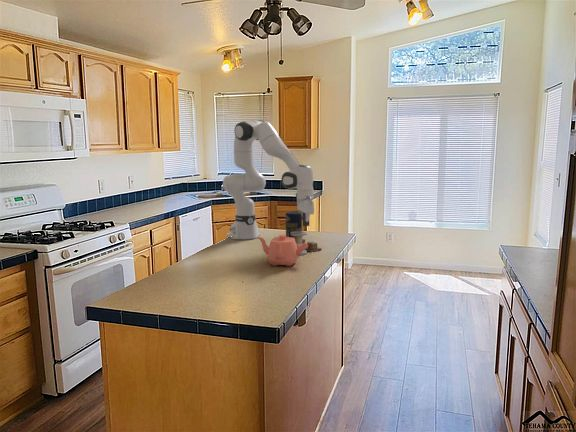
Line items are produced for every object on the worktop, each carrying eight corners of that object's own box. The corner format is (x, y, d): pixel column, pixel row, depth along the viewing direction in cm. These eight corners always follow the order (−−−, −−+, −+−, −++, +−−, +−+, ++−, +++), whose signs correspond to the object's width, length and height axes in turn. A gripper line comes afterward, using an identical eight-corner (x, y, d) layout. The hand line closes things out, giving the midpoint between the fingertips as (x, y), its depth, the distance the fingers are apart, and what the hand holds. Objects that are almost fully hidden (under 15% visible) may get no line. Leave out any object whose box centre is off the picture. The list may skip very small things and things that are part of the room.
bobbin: (287, 253, 237) (287, 232, 236) (300, 250, 242) (300, 230, 240) (296, 256, 231) (296, 235, 229) (310, 253, 235) (309, 232, 233)
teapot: (277, 271, 205) (276, 241, 203) (257, 262, 220) (256, 234, 218) (309, 264, 215) (309, 236, 213) (288, 256, 230) (287, 230, 228)
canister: (283, 240, 268) (282, 210, 265) (297, 238, 272) (297, 208, 269) (290, 243, 260) (289, 212, 257) (304, 241, 264) (304, 211, 261)
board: (291, 246, 253) (291, 239, 252) (301, 244, 257) (301, 237, 256) (311, 252, 238) (310, 244, 238) (321, 250, 242) (321, 242, 241)
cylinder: (301, 225, 244) (301, 211, 243) (304, 224, 247) (303, 210, 246) (307, 226, 243) (307, 211, 241) (310, 225, 246) (310, 210, 245)
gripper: (316, 196, 233) (317, 223, 235) (305, 193, 253) (306, 217, 255) (305, 197, 232) (305, 224, 234) (294, 193, 251) (295, 218, 253)
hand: (305, 220), depth 245 cm, fingers closed on cylinder, 4 cm apart
